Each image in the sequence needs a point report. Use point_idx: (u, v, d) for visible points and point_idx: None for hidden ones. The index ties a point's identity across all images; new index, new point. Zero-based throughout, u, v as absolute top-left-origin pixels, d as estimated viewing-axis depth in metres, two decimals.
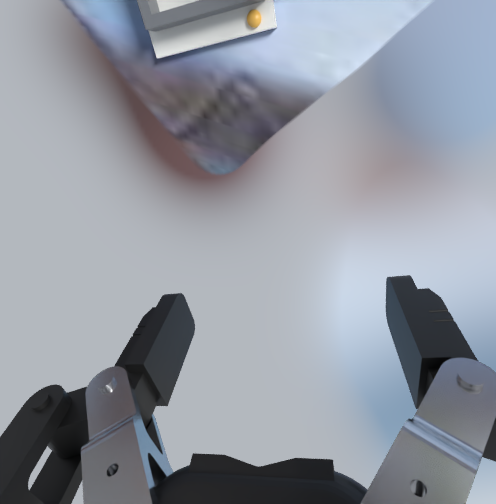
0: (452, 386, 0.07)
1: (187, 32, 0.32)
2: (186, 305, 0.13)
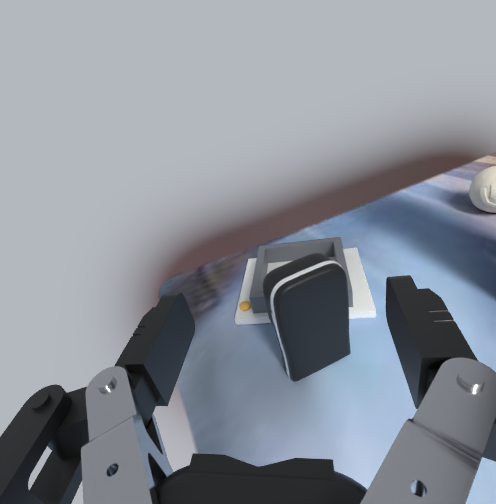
0: (452, 386, 0.07)
1: None
2: (186, 305, 0.13)
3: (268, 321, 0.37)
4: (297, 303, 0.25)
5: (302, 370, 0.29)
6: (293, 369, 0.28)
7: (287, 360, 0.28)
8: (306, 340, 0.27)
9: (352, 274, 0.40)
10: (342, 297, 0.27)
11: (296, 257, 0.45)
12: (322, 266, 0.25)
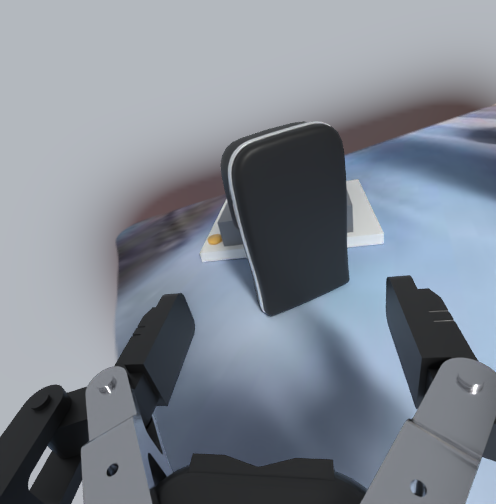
0: (452, 386, 0.07)
1: None
2: (186, 305, 0.13)
3: (243, 255, 0.28)
4: (269, 180, 0.16)
5: (280, 298, 0.20)
6: (267, 295, 0.20)
7: (258, 283, 0.20)
8: (284, 249, 0.19)
9: (352, 202, 0.31)
10: (337, 182, 0.18)
11: None
12: (307, 125, 0.17)
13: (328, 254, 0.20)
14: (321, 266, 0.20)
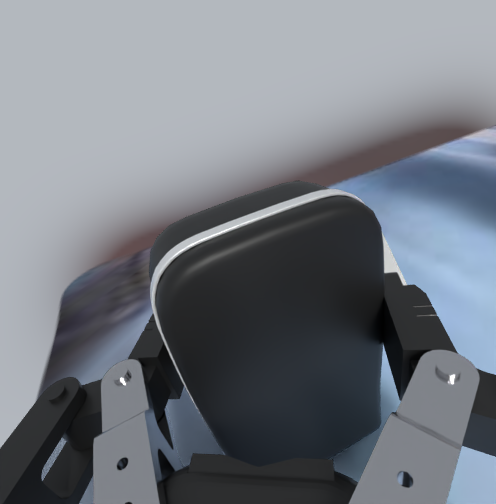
0: (431, 377, 0.07)
1: None
2: None
3: None
4: (235, 317, 0.08)
5: None
6: None
7: None
8: (271, 413, 0.10)
9: None
10: (369, 298, 0.10)
11: None
12: (311, 202, 0.08)
13: (349, 402, 0.12)
14: (337, 420, 0.12)
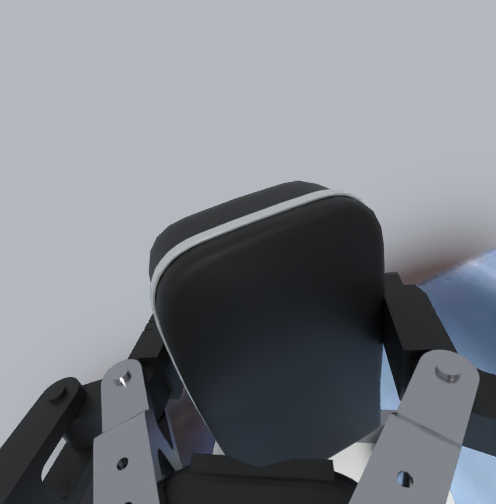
0: (431, 377, 0.07)
1: None
2: None
3: None
4: (235, 317, 0.08)
5: None
6: None
7: None
8: (271, 413, 0.10)
9: None
10: (369, 298, 0.10)
11: None
12: (312, 202, 0.08)
13: (349, 402, 0.12)
14: (337, 420, 0.12)
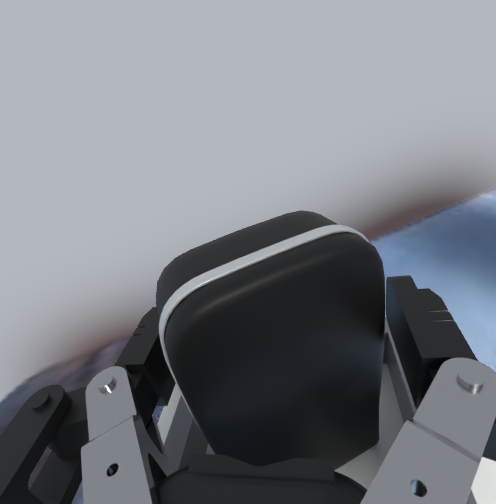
0: (452, 386, 0.07)
1: None
2: None
3: None
4: (241, 352, 0.08)
5: None
6: None
7: None
8: (274, 436, 0.10)
9: None
10: (370, 327, 0.10)
11: None
12: (315, 240, 0.08)
13: (349, 422, 0.12)
14: (337, 439, 0.12)
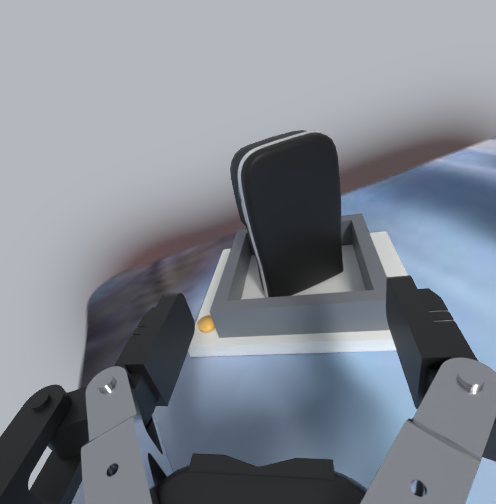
0: (452, 386, 0.07)
1: None
2: (186, 305, 0.13)
3: (244, 352, 0.21)
4: (273, 182, 0.19)
5: (283, 286, 0.23)
6: (271, 283, 0.22)
7: (263, 272, 0.22)
8: (286, 241, 0.21)
9: (385, 271, 0.24)
10: (332, 183, 0.21)
11: None
12: (305, 134, 0.19)
13: (324, 246, 0.23)
14: (318, 257, 0.23)
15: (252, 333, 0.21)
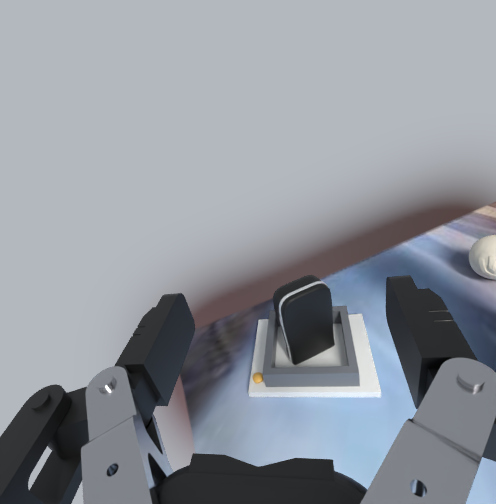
0: (452, 386, 0.07)
1: (265, 338, 0.47)
2: (186, 305, 0.13)
3: (280, 395, 0.39)
4: (297, 310, 0.37)
5: (300, 357, 0.41)
6: (294, 356, 0.40)
7: (289, 350, 0.40)
8: (303, 335, 0.39)
9: (358, 346, 0.42)
10: (327, 306, 0.39)
11: None
12: (314, 285, 0.37)
13: (323, 335, 0.41)
14: (320, 340, 0.41)
15: (284, 385, 0.39)
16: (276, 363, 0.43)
